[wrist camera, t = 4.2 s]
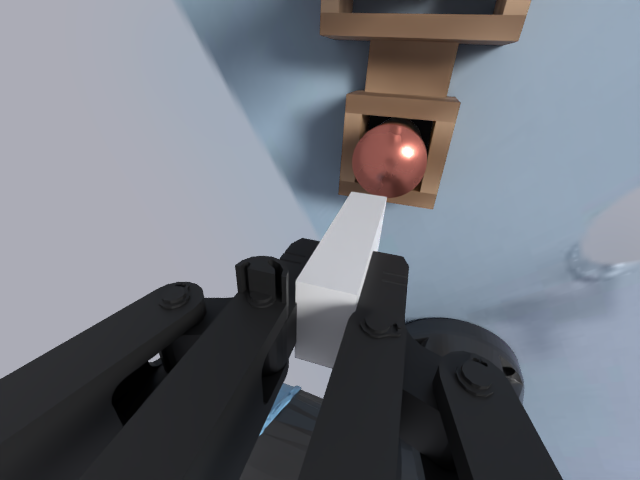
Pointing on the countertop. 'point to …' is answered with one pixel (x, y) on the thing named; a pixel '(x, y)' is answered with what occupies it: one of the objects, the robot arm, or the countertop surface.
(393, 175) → the copper-capped cylinder
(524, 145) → the countertop surface
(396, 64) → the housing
